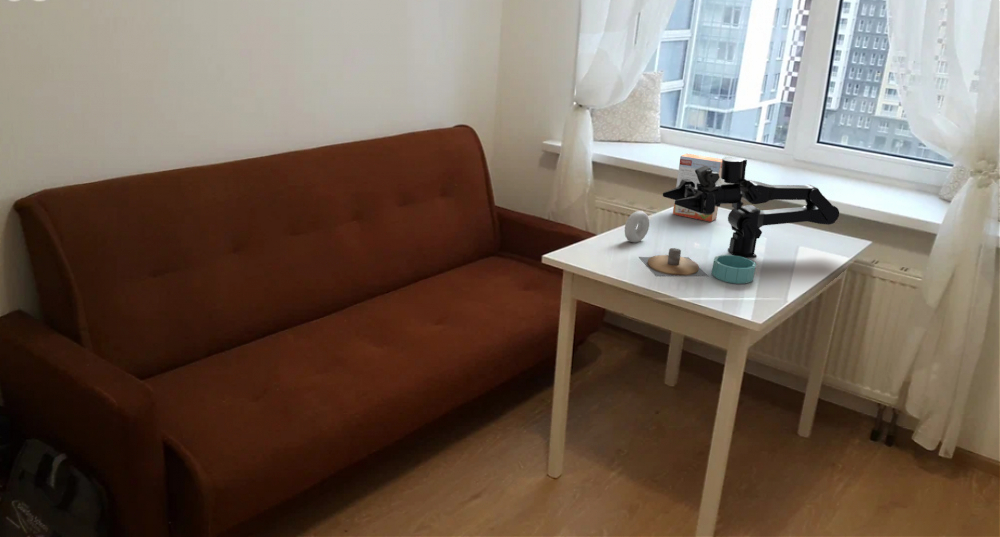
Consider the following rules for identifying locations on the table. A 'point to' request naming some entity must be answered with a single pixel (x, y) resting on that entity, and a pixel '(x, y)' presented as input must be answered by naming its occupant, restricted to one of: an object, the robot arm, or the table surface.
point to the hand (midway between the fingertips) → (668, 198)
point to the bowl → (733, 269)
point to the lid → (673, 263)
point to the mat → (656, 273)
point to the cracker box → (696, 181)
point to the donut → (631, 224)
